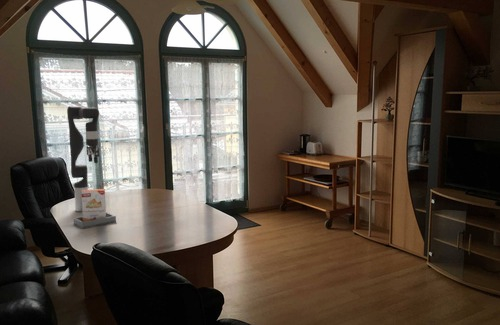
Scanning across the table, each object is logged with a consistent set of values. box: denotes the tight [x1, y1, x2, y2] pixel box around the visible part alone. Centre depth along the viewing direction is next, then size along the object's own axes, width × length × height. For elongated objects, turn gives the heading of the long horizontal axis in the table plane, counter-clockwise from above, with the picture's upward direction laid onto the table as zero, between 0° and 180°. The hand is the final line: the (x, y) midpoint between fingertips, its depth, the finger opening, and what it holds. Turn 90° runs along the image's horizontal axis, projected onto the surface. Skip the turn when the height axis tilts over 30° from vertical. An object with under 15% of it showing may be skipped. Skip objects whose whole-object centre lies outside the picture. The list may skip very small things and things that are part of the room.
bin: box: [72, 211, 117, 230], centre depth 270 cm, size 14×22×4 cm, turn 134°
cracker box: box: [81, 188, 107, 222], centre depth 268 cm, size 14×6×21 cm, turn 108°
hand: (93, 162), depth 277 cm, fingers open, 8 cm apart
